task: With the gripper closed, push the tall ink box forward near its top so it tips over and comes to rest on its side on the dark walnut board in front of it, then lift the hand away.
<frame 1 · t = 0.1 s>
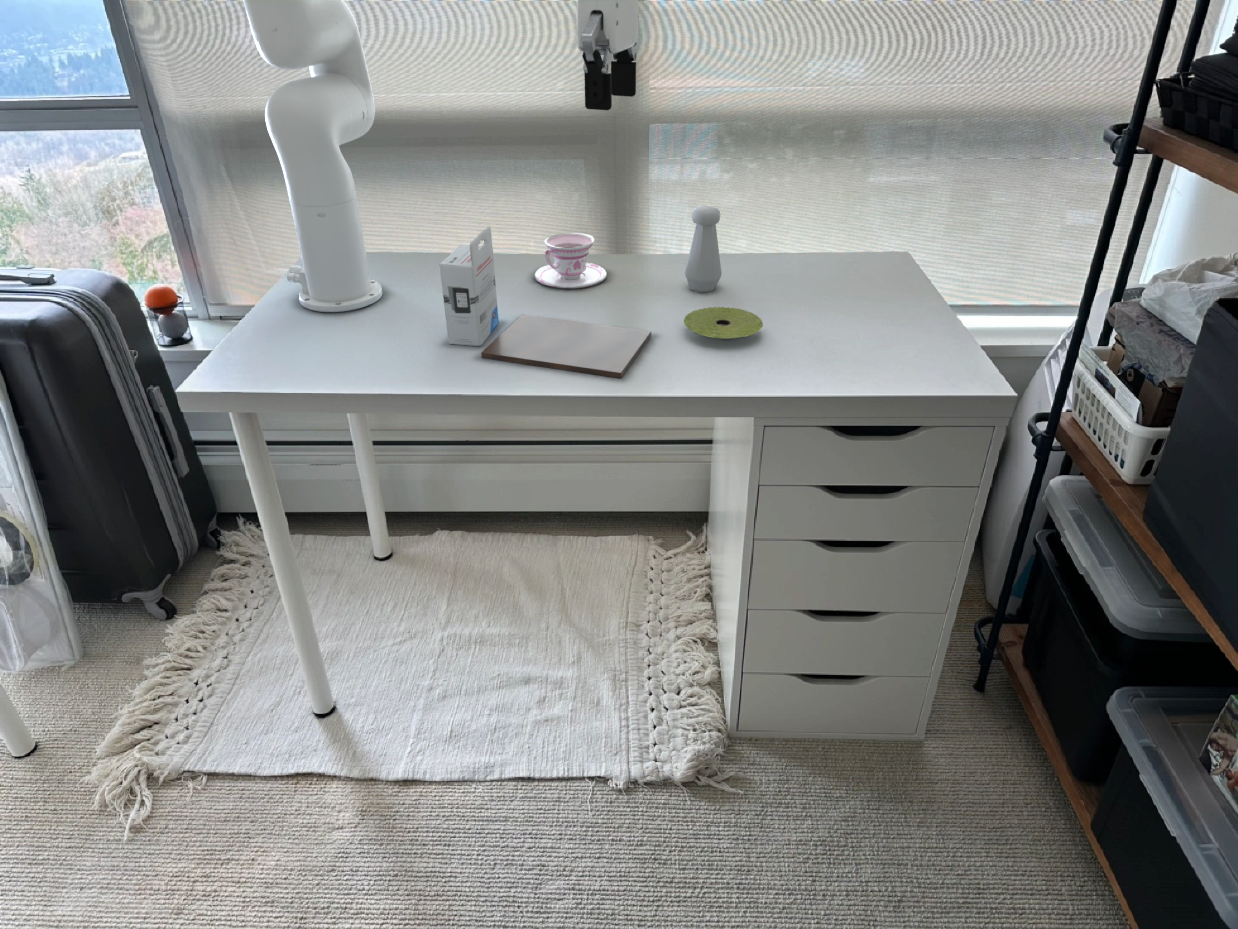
hand: (611, 102, 106), 31 cm above the table, tool pointing down, fingers open, 9 cm apart
teacup: (570, 277, 143), on the table
salt shaker: (702, 288, 139), on the table
green grinding disc: (722, 335, 123), on the table
walnut board: (568, 346, 120), on the table
ink box: (474, 334, 124), on the table
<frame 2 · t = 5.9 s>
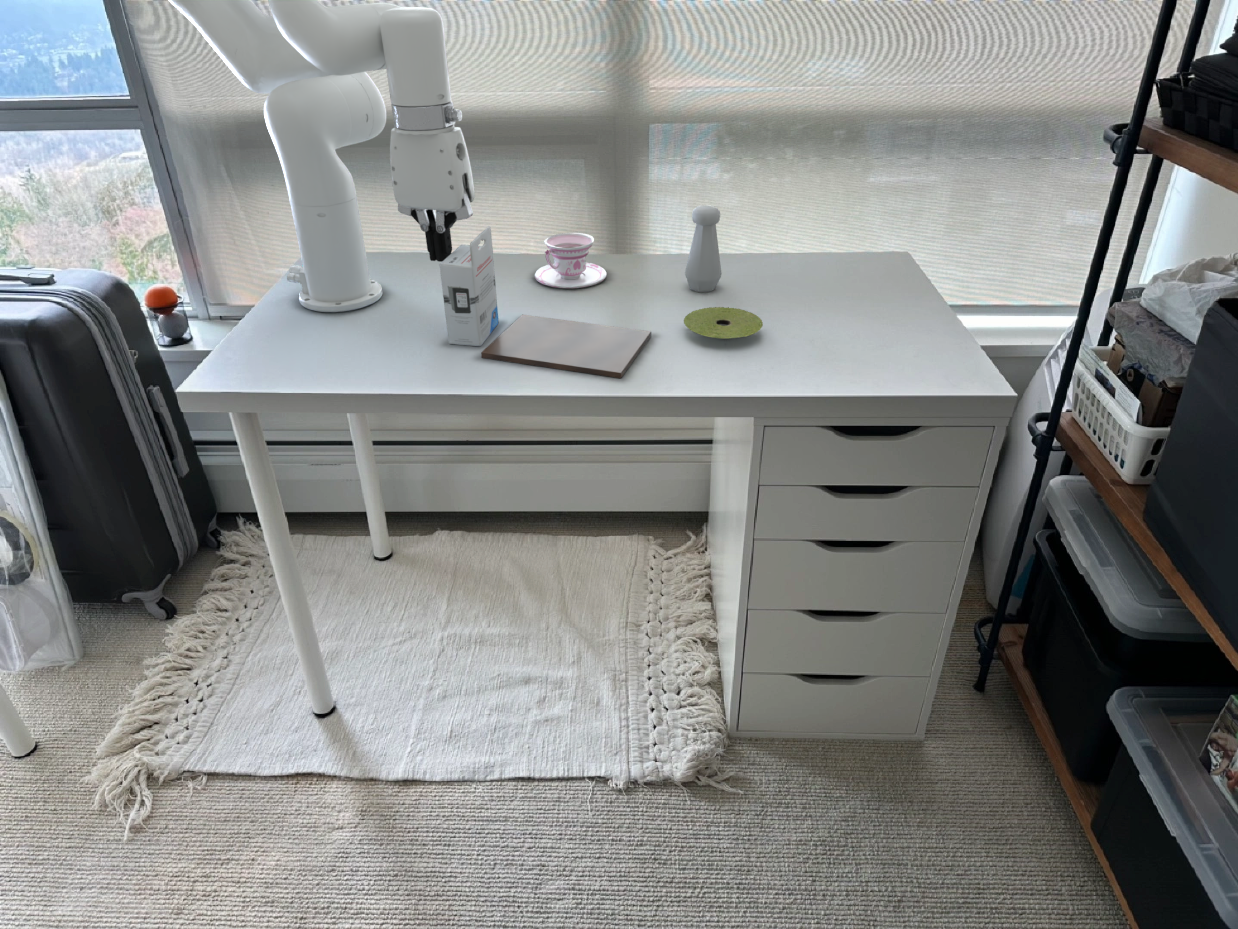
hand: (440, 257, 119), 11 cm above the table, tool pointing down, fingers closed
ink box: (474, 334, 124), on the table, touching gripper
everything else where it was.
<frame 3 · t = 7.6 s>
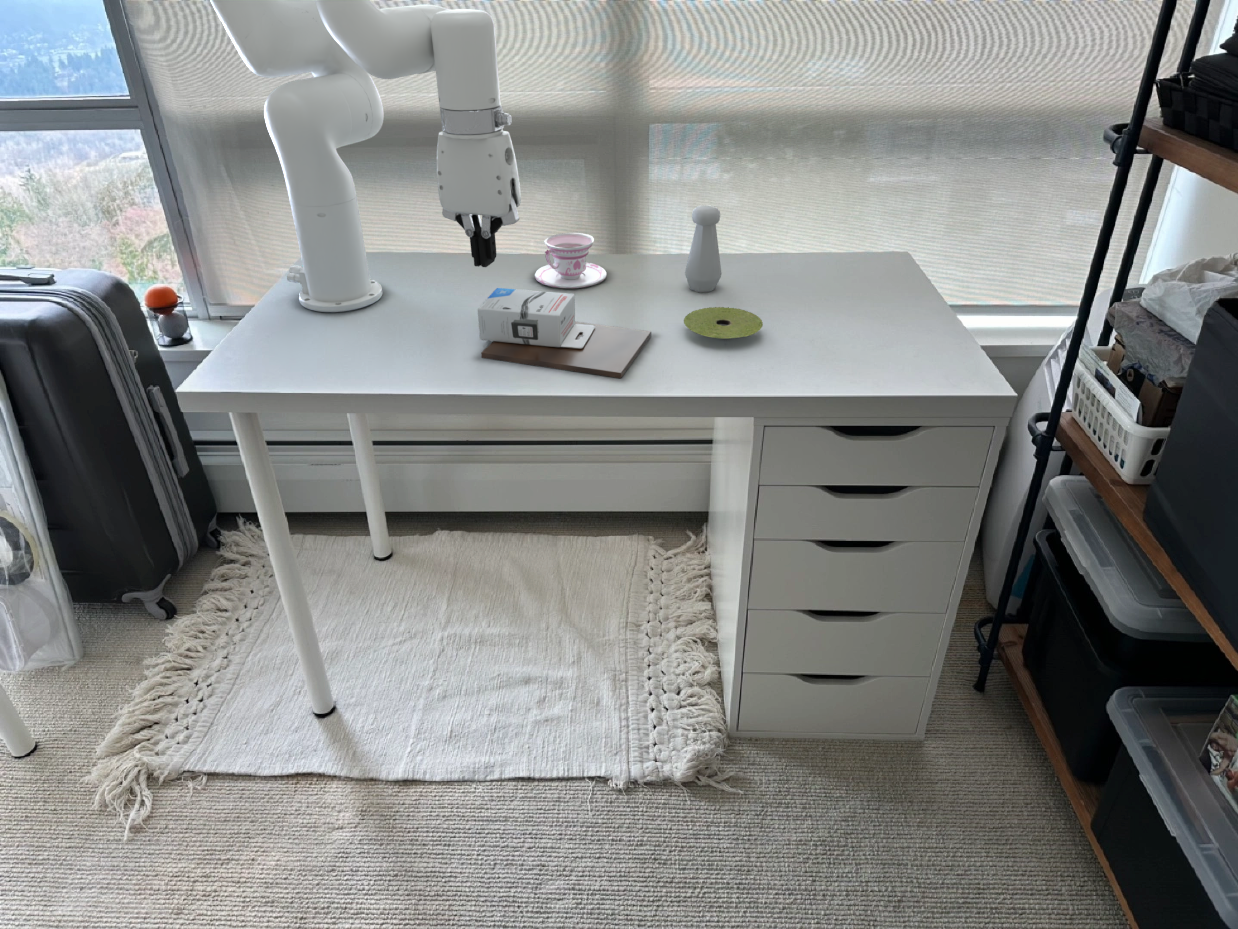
hand: (484, 263, 117), 11 cm above the table, tool pointing down, fingers closed
ink box: (486, 313, 121), point 3 cm above the table, touching walnut board
everything else where it was.
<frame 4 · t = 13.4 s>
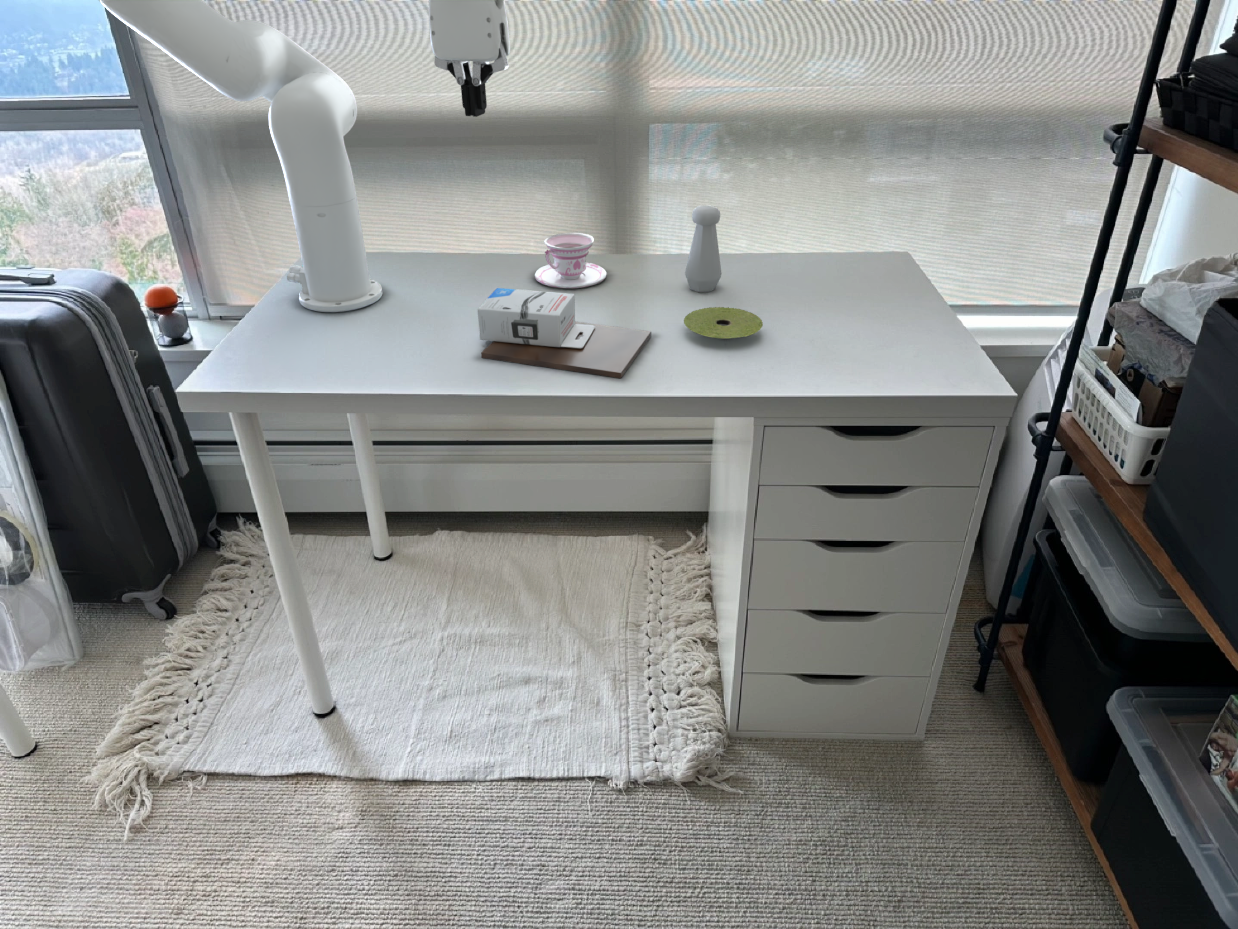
hand: (475, 114, 121), 27 cm above the table, tool pointing down, fingers closed
nothing on the table moved.
at the end: ink box tilted 90°; ink box touching walnut board; the gripper is holding nothing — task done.
